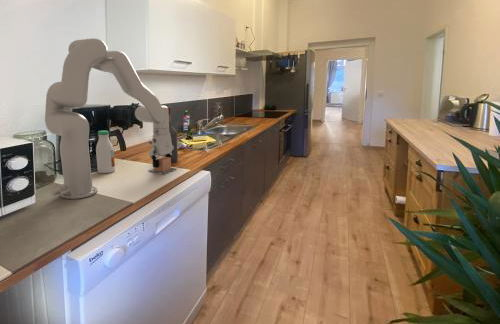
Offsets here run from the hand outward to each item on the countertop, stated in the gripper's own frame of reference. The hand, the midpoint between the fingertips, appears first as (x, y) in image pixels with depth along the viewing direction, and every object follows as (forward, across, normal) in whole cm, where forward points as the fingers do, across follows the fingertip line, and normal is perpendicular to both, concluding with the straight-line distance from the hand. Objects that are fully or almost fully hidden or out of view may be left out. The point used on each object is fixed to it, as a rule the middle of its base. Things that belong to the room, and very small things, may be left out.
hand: (162, 165), depth 155 cm
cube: (+2, 0, 0) cm, 2 cm away
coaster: (+3, 0, 0) cm, 3 cm away
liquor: (+3, +17, +10) cm, 20 cm away
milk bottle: (+3, -15, +22) cm, 27 cm away
